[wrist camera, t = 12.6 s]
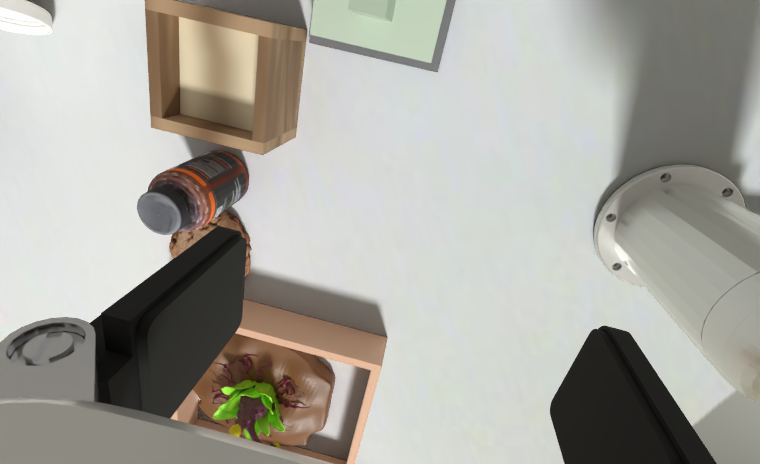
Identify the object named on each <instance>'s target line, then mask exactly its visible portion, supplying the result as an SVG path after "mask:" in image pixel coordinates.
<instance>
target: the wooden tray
mask: <svg viewBox="0 0 760 464" xmlns="http://www.w3.org/2000/svg"><path fill="white" fill-rule="evenodd" d="M236 334H240V335H244V336H247V337H251V338H255V339H258V340H262V341H266V342H269V343H273V344H276V345H280V346H284V347H287V348H291V349H295V350H298V351H302V352H306V353H309V354H313V355H317V356H320V357H324V358H328V359H331V360H335V361H339V362H342V363H346V364H350V365H353V366H357V367H361V368H364V369H368V370H371V371H370V375H369V378H368V382H367V386H366V390H365V394H364V397H363V401H362V405H361V409H360V413H359V417H358V420H357V424H356V428H355V432H354V436H353V439H352V443H351V447H350V451H349V455H348V458H347V461H344V460H341V459H337V458H334V457H330V456H327V455H323V454H320V453H316V452H313V451H309V450H306V449H302V448H299V447H295V446H281V445H280V449H283V450H287V451H290V452H294V453H297V454H301V455H304V456H308V457H312V458H315V459H319V460H322V461H326V462H329V463H333V464H355V461H356V457H357V453H358V450H359V446H360V442H361V439H362V435H363V432H364V428H365V424H366V421H367V417H368V414H369V410H370V406H371V403H372V399H373V396H374V392H375V388H376V385H377V381H378V378H379V374H380V370H381V367H382V362H383V357H384V352H385V347H386V343H387V337H383V336H379V335H376V334H372V333H368V332H364V331H361V330H357V329H353V328H350V327H346V326H342V325H338V324H335V323H331V322H327V321H323V320H320V319H316V318H312V317H309V316H305V315H301V314H297V313H294V312H290V311H286V310H282V309H279V308H275V307H271V306H267V305H264V304H260V303H256V302H253V301H249V300H245V299H243V313H242V320H241V324H240V326H239V328H238V330H237V331H236ZM171 419H173V420H177V421H181V422H185V423H189V424H192V425H196V426H200V427H204V428H208V429H212V430H215V431H219V432H223V433H226V434H228V433H229V429H230V428H228V427H226V426H222V425H219V424H215V423H212V422H208V421H205V420H201V419H198V395H197V394H196V393H195V392H194V391H193V389H192V391H191V392H190V393H189V395H188V396H187V397H186V399H185V400H184V401H183V403H182V404H181V405H180V407H179V408H178V409H177V411H176V412H175V413H174V414H173V416H172V417H171ZM240 438H244V439H247V438H246V436H244V435H242V434H240ZM260 441H261V442H262V443H263V444H265V445H270V444H268V443H266V442H264V441H262V440H260Z"/></svg>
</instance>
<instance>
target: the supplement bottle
mask: <svg viewBox="0 0 760 464" xmlns="http://www.w3.org/2000/svg"><path fill="white" fill-rule="evenodd" d="M248 185H249V178H248V174H247V171H246V169H245V167H244V165H243V164H242V162H241V161H240V160H239V159H238V158H236V157H235V156H234V155H232V154H230V153H228V152H225V151H211V152H208V153H205V154H203V155H201V156H198V157H196V158H194V159H191V160H189V161H187V162H185V163H182V164H180V165H178V166H175V167H173V168H171V169H169V170H166V171H164V172H162V173H160V174H159V175H157V176H156V177H155V178H154V179H153V180H152V181H151V183H150V185H149V187H148V192H147V193H145V194H143V195H142V196H141V197H140V199H139V200H138V204H137V210H138V214H139V217H140V219H141V220H142V222H143V223H144V224H145V225H146V227H148V228H149V229H150V230H152V231H153V232H156V233H158V234H163V235H170V234H173V233H175V232H177V231H182V232H191V231H195V230H197V229H199V228H201V227H203V226H204V225H206V224H207V223H209V222H210V221H211V220H213V219H214V218H215V217H217V216H218V215H219V214H221V213H222V212H224V211H225V210H226V209H228V208H229V207H230V206H232V205H233V204H234V203H236V202H237V201H239V200H240V199H241V198H242V197H243V196H244V195H245V193H246V192H247V189H248Z"/></svg>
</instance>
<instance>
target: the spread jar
mask: <svg viewBox="0 0 760 464" xmlns="http://www.w3.org/2000/svg"><path fill="white" fill-rule="evenodd" d="M0 30H5V31H10V32H15V33H21V34H29V35H46V34H50V33H51V32H52V17H51V15H50V13H49V12H48V11H46V10H45V9H43V8H42V7H40V6H38V5H36V4H34V3H32V2H29V1H27V0H0Z"/></svg>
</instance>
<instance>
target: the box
mask: <svg viewBox="0 0 760 464" xmlns="http://www.w3.org/2000/svg"><path fill="white" fill-rule="evenodd" d="M145 13H146V33H147V53H148V73H149V93H150V113H151V128H155V129H159V130H163V131H168V132H172V133H176V134H180V135H184V136H188V137H192V138H196V139H200V140H204V141H208V142H212V143H216V144H220V145H224V146H228V147H232V148H236V149H240V150H244V151H248V152H252V153H256V154H260V155H264V154H266V153H268V152H269V151H271V150H273V149H275V148H277V147H278V146H280V145H282V144H284V143H286V142H288V141H289V140H291V139H293V138H295V137H296V128H297V119H298V110H299V101H300V92H301V83H302V74H303V64H304V55H305V46H306V37H307V30H306V29H302V28H298V27H293V26H289V25H285V24H280V23H276V22H271V21H267V20H263V19H258V18H254V17H250V16H245V15H241V14H237V13H232V12H228V11H224V10H219V9H215V8H210V7H206V6H201V5H197V4H192V3H187V2H182V1H177V0H145Z"/></svg>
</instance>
